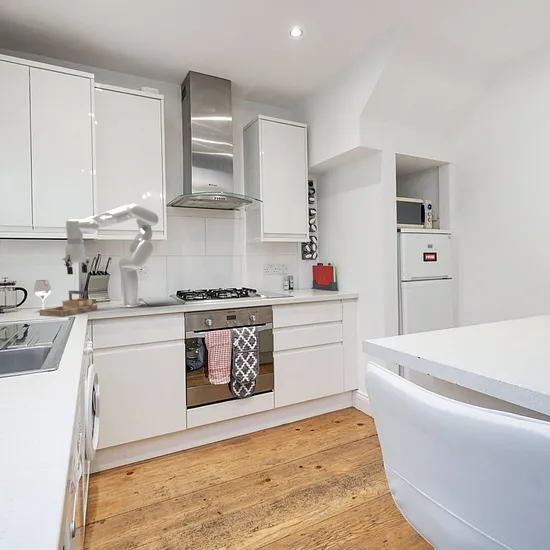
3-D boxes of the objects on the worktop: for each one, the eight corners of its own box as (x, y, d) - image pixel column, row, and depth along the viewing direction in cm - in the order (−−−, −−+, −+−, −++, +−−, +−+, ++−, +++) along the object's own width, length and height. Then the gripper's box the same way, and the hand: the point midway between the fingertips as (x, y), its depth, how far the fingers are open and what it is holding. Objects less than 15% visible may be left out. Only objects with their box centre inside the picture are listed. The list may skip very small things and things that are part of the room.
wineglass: (35, 314, 202) (33, 281, 200) (34, 312, 208) (32, 280, 207) (53, 312, 206) (51, 280, 205) (51, 311, 213) (49, 279, 212)
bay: (75, 310, 213) (75, 303, 213) (97, 312, 208) (97, 304, 207) (39, 317, 192) (39, 309, 192) (63, 319, 187) (63, 311, 187)
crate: (78, 309, 212) (77, 289, 211) (93, 309, 208) (92, 290, 207) (63, 311, 202) (62, 291, 202) (78, 312, 199) (77, 292, 198)
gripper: (82, 242, 212) (85, 272, 214) (56, 242, 196) (58, 275, 197) (93, 242, 210) (95, 272, 211) (67, 242, 193) (69, 275, 195)
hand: (77, 273), depth 204 cm, fingers open, 9 cm apart
